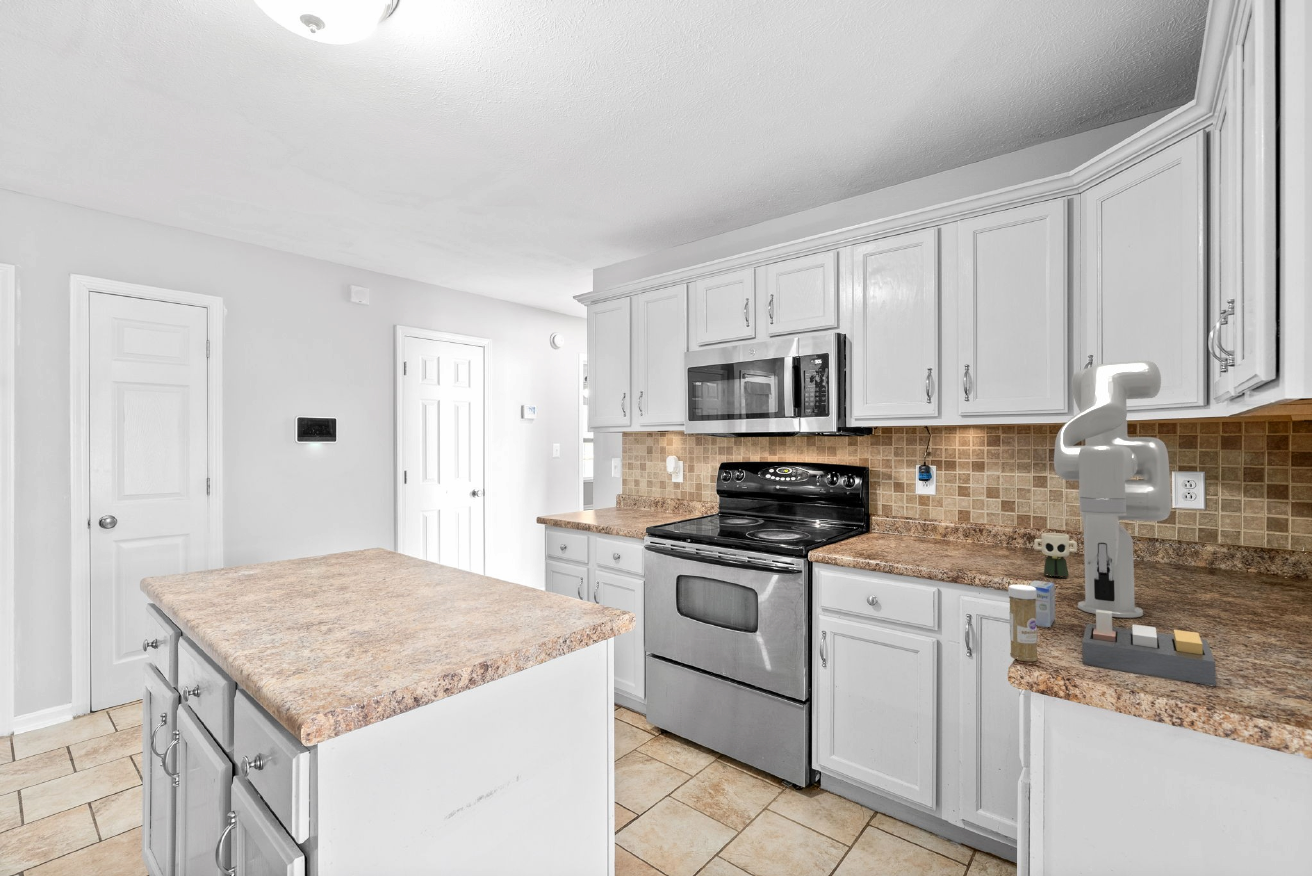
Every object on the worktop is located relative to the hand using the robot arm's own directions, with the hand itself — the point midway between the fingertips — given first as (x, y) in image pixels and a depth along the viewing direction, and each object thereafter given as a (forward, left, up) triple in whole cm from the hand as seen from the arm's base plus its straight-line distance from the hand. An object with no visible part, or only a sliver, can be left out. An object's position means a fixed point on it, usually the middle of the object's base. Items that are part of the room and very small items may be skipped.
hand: (1104, 599), depth 123 cm
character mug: (-72, -14, -9) cm, 74 cm away
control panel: (+8, +6, -9) cm, 13 cm away
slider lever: (+6, 0, -6) cm, 8 cm away
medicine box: (-12, -12, -9) cm, 20 cm away
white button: (+8, +6, -5) cm, 11 cm away
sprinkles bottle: (+18, -12, -9) cm, 23 cm away
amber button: (+8, +12, -5) cm, 15 cm away
